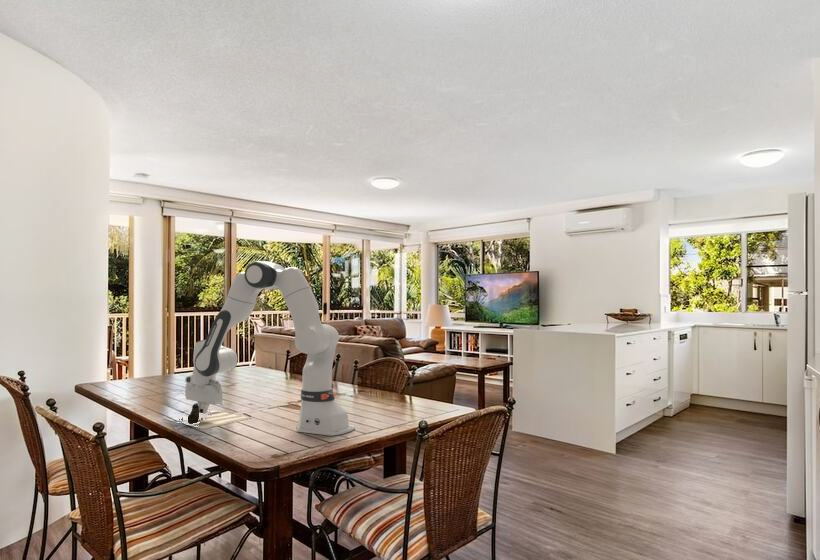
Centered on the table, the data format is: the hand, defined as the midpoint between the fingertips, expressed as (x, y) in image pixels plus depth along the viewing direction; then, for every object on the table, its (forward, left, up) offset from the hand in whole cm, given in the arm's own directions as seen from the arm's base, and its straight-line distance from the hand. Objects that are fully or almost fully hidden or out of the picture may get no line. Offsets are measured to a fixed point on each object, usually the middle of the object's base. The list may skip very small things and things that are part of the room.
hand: (203, 413), depth 201 cm
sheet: (-2, 0, -2) cm, 3 cm away
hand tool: (+1, +3, -2) cm, 4 cm away
